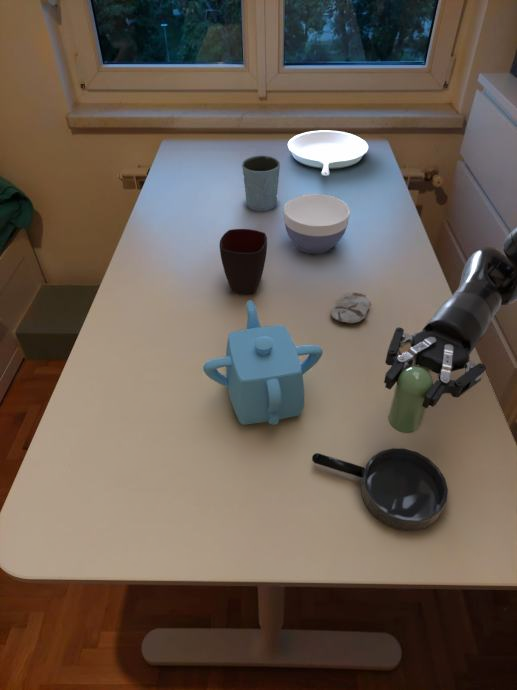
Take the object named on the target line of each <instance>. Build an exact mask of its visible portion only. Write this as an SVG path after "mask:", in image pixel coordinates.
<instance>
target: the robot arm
mask: <svg viewBox="0 0 517 690" xmlns="http://www.w3.org/2000/svg"><path fill="white" fill-rule="evenodd" d="M502 249H503V252H502V251H500V250H499V249H497V248H495V247H494V246H493V247H491V246H484V247H481V248H479V249H477V250H475V251H474V252H473V253H472V254H471V255H470V256H469V258H468V259H467V260H466V262H465V264H464V265H463V268H462V271H461V276H460V281H459V285H458V288H457V289H456V290H455V291H454V292H453V294H452V295H451V296H450V297H449V298H448V299H447V300H445V301H444V303H443V304H442V305H441V306H440V307H439V308H438V309H437V311H436V312H435V313H434V315H432V317H431V318H430V319H429V320H428V322H427V323H426V324H425V326H423V328H422V330H420V331H419V332H416V333H414V334H413V335H412V334H410V333H409V334H408V333H405V329H404V328H403V327H396V328H395V330H394V333H393V336H392V338H391V341H390V343H389V346H388V349H387V353H386V358H385V360H384V362H385V364H386V365H387V366H390V367H389V369H388V370H387V371H386V372H385V375H384V381H383V383H384V384H385V386H384V387H385V388H386V389H388V390H392V388H393V387H394V386H395V385H396V383H397V379H398V376H399V375H400V373H401V372H402V371H403V370H404V369H406V368H408V367H413V366H417V367H418V366H422V367H425V368H428V369H427V370H430V371H431V372H433V373H434V374H436V375H437V377H436V381H435V382H433V383H434V385H433V386H432V388H431V389H430V390H429V392H428V393H427V395H426V396H425V398H424V401H423V404H422V406H423V407H425V408H426V409H428V408H429V407H432V408H434V407H435V406H437V404H438V402H440V400H441V398H442V396H443V395H445V394H450V395H451V397H453V398H460V397H461V396H462V395H464V394H465V393H466V392H468V391H469V390H470V389H472V388H473V387H474V386H475V385H477V384H479V382H481V380H482V379H483V376H484V374H485V371H486V369H487V366H486V365H485V364H484V363H481V362H479V363H477V364H476V363H474V362H472V361H471V360H470V355H471V354H472V352H473V351H474V349H475V348H476V346H477V345H478V343H479V342H480V341H481V340H482V339H483V338H484V335H485V333H486V332H487V330H488V329H489V328H488V327H489V325H490V323H491V321H492V320H493V319H494V317H495V316H496V314H497V312H498V311H499V310H500V308H501V306H507V305H511V304H513V303H515V302H516V301H517V225H516V226H515V227H514V228H513V229H512V230H511V231H510V232H509V233H508V234H507V235H506V236H505V238H504V239H503V242H502ZM406 344H411V348H410V349H409V350H408V351H407V352H406V353H404V354H402V355H399V348H403V347H404V346H405V345H406ZM460 370H464V374H462V375H461V376H459V377H458V378H456V379H455V380H454V379H451V372H456V371H460Z"/></svg>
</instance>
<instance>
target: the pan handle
mask: <svg viewBox="0 0 517 690" xmlns="http://www.w3.org/2000/svg"><path fill="white" fill-rule="evenodd" d="M311 461H312V462H313V463H314V464H316V465H319V466H321V467H325V468H329V469H332V470H335V471H338V472H342V473H344V474H348V475H350V476H354V477H357V478H362V479H363V474H364V471H365V466H361V465H359V464H355V463H351V462H348V461H344V460H341V459H338V458H335V457H332V456H327V455H326V454H322V453H319V452H318V453H317V452H315V453H313V455H312V457H311Z"/></svg>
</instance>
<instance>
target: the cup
mask: <svg viewBox="0 0 517 690" xmlns="http://www.w3.org/2000/svg"><path fill="white" fill-rule="evenodd" d="M218 246H219V253H220V259H221V263H222V267H223V271H224V275H225V277H226V280H227V284H228V286H229V288H230V290H231V291H232V292H233V293H236V294H239V295H253V294H256V292H257V290H258V289H259V286H260V283H261V280H262V276H263V273H264V268H265V264H266V259H267V251H268V237H267V234H266V232H263V231H260V230H255V229H250V228H234V229H229V230H227V231H226V232H225V233H224V234H223V235H222V236H221V238H220V240H219V245H218Z"/></svg>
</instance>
